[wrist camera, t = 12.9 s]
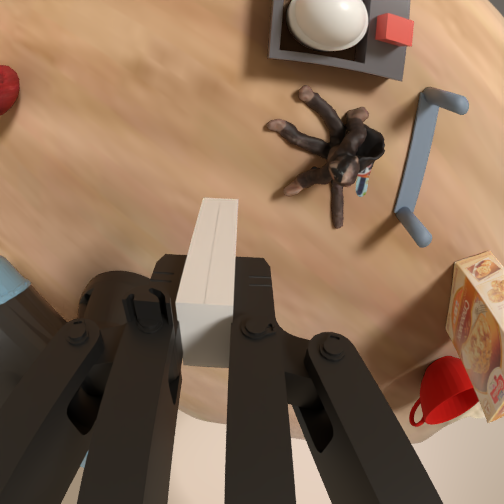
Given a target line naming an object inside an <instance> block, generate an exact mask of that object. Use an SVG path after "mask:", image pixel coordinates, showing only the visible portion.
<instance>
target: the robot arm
mask: <svg viewBox="0 0 504 504" xmlns="http://www.w3.org/2000/svg"><path fill="white" fill-rule="evenodd" d="M237 216H238V199H222V198H203V201H202V204H201V208H200V211H199V215H198V218H197V222H196V225H195V229H194V233H193V236H192V240H191V243H190V247H189V251H188V255H173V254H165V255H164V256H163V257H162V258H161V259H160V260H159V261H157V263H156V265H155V268H154V271H153V273H152V276H151V279H149V278H147V277H144V276H142V275H139V274H136V273H131V272H126V271H110V272H105V273H102V274H100V275H98V276H96V277H94V278H93V279H92V280H91V281H90V282H89V283H88V285H87V287H86V288H85V290H84V292H83V294H82V296H81V298H80V302H79V309H78V319H74V320H72V321H69V322H66V321H65V320H64V319H63V318H62V317H61V316H60V315H59V314H58V313H57V312H56V311H55V310H54V309H53V308H52V307H51V306H50V305H49V304H48V303H47V301H46V300H45V299H44V298H43V297H42V296H41V295H40V294H39V293H38V292H37V291H36V290H35V289H34V288H33V287H32V285H31V282H30V281H29V280H28V279H25V278H24V277H23V276H22V275H21V274H20V273H19V272H18V271H17V270H16V269H15V268H14V267H13V266H12V264H11V263H10V262H9V261H8V260H7V259H6V258H4V257H3V256H1V255H0V504H61V502H62V500H63V498H64V496H65V494H66V492H67V490H68V488H69V486H70V484H71V482H72V480H73V478H74V477H75V475H76V473H77V471H78V469H79V467H83V468H84V472H83V476H82V481H81V486H80V491H79V496H78V501H77V504H167V502H168V491H169V481H170V471H171V461H172V452H173V444H174V436H175V427H176V419H177V412H178V405H179V397H180V390H181V383H182V375H181V364H182V358H183V364H184V365H189V366H203V367H219V368H229V377H228V402H227V431H226V433H227V434H226V464H225V504H296V497H295V484H294V471H293V460H292V448H291V436H290V425H289V414H288V404H291V405H292V407H293V409H294V412H295V414H296V417H297V419H298V422H299V424H300V427H301V429H302V432H303V434H304V437H305V439H306V441H307V444H308V446H309V449H310V451H311V454H312V456H313V459H314V461H315V464H316V466H317V469H318V471H319V473H320V476H321V478H322V481H323V483H324V485H325V488H326V490H327V493H328V495H329V498H330V500H331V502H332V504H443V502H442V501H441V499H440V497H439V495H438V493H437V491H436V489H435V487H434V485H433V483H432V481H431V480H430V478H429V476H428V474H427V472H426V470H425V468H424V467H423V465H422V463H421V461H420V459H419V457H418V455H417V454H416V452H415V450H414V448H413V446H412V445H411V443H410V441H409V439H408V437H407V436H406V434H405V432H404V430H403V429H402V427H401V425H400V423H399V421H398V420H397V418H396V416H395V414H394V413H393V411H392V409H391V407H390V406H389V404H388V402H387V401H386V399H385V397H384V395H383V394H382V392H381V390H380V388H379V387H378V385H377V383H376V382H375V380H374V378H373V377H372V375H371V373H370V371H369V370H368V368H367V366H366V365H365V363H364V361H363V360H362V358H361V356H360V355H359V353H358V351H357V350H356V348H355V346H354V345H353V344H352V343H351V342H350V340H349V339H348V338H346V337H344V336H342V335H341V334H337V333H333V332H322V333H320V334H317V335H315V336H314V337H313V338H312V339H311V340H307V339H303V338H299V337H296V336H293V335H291V334H289V333H287V332H286V331H284V330H283V329H282V328H281V327H280V326H279V325H278V323H277V321H276V318H275V310H274V300H273V290H272V280H271V271H270V266H269V265H268V263H267V262H266V261H265V259H264V258H253V257H235V256H236V235H237Z"/></svg>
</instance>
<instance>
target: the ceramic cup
mask: <svg viewBox="0 0 504 504" xmlns="http://www.w3.org/2000/svg"><path fill="white" fill-rule="evenodd" d="M478 401H479V399H478V397H477V394H476V392H475V390H474V387H473V385H472V383H471V381H470V378H469V376H468V374H467V372H466V369H465V367H464V365H463V363H462V361H461V359H459V358H455V357H452V356H445V357H442V358H440V359H438V360H436V361H434V362H433V363H432V364H431V365H429V367H428V368H427V369H426V371H425V375H424V377H423V379H422V383H421V388H420V398H419V399H418V400H417V402H416V403H415V404H414V406H413V407H412V409H411V412H410V416H409V421H410V423H411V425H412V426H415V427H418V426H420V425H422V424H423V423H424V422H426V423H427V424H439V423H443V422H446V421H449V420H451V419H453V418H455V417H457V416H459V415H461V414H463V413H464V412H466V411H467V410H469V409H470V408H471V407H473V406H474V405H475V404H476V403H477V402H478ZM420 403H421V407H422V412H423V417H422V419H421V420H420V421H419V422H418V423H415V422H414V414H415V411H416V409H417V407H418V406H419V405H420Z"/></svg>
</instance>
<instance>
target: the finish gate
mask: <svg viewBox="0 0 504 504" xmlns="http://www.w3.org/2000/svg"><path fill="white" fill-rule="evenodd" d="M439 107H442V108H444V109H447V110H449V111H452V112H455V113H457V114H460V115H464V114H466V113H467V111H468V109H469V103H468V100H467V99H466V98H465V97H464V96H461V95H458V94H455V93H451V92H448V91H444V90H440V89H437V88H433V87H426V88H425V89H424V91H423V93H422V92H420V96H419V102H418V108H417V113H416V119H415V124H414V129H413V134H412V139H411V143H410V148H409V152H408V157H407V161H406V165H405V170H404V174H403V178H402V182H401V186H400V189H399V193H398V197H397V201H396V204H395V208H394V213H396V217H397V218H398V219H399V221H400V222H401V223H402V225H403V226H404V227H405V229H406V230H407V231H408V233H409V234H410V235H411V237H412V238H413V239H414V241H415V242H416V243H417V245H418V246H419V247H426V246H428V245H429V244H430V243H431V240H432V235H431V234H430V233H429V231H428V230H427V229H426V228H425V227H424V225H423V224H422V223H421V222H420V221H419V219H418V218H417V217H416V216H415V215H414V214H413V211H414V208H415V205H416V201H417V198H418V195H419V191H420V187H421V184H422V180H423V176H424V173H425V169H426V165H427V161H428V157H429V153H430V148H431V144H432V139H433V135H434V130H435V125H436V120H437V115H438V110H439Z"/></svg>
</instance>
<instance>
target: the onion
mask: <svg viewBox="0 0 504 504" xmlns="http://www.w3.org/2000/svg"><path fill="white" fill-rule="evenodd" d="M18 93H19V78H18V75H17V73H16V72H15V71H14V70H13V69H11V68H10V67H9V66H5V65H0V115H3V114H4V113H5V112H7V111H8V110H9V109H10V108H11V107H12V105H13V104H14V102H15V100H16V99H17V97H18Z"/></svg>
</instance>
